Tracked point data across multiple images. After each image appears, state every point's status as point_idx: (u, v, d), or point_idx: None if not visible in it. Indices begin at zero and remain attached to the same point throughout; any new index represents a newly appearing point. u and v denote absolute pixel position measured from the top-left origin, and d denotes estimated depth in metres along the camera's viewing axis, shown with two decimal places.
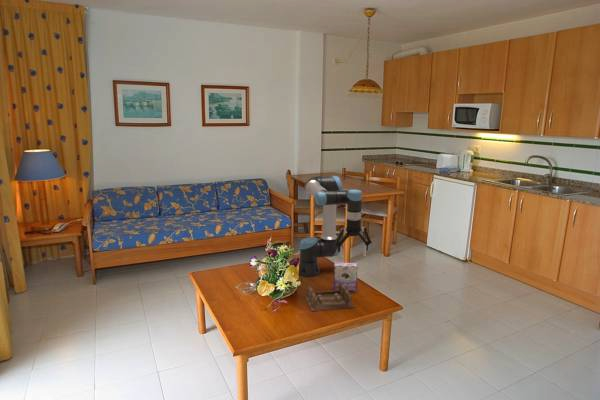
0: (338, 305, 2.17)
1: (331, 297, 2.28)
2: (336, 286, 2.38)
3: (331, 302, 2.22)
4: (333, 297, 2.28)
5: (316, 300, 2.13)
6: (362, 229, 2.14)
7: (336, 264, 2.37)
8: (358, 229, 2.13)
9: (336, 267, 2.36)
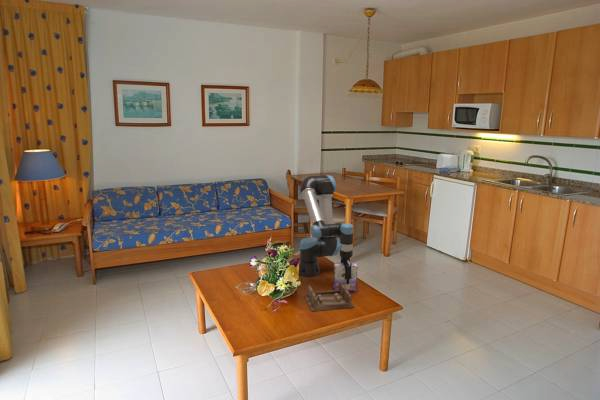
0: (338, 305, 2.17)
1: (331, 297, 2.28)
2: (336, 286, 2.38)
3: (331, 302, 2.22)
4: (333, 297, 2.28)
5: (316, 300, 2.13)
6: None
7: (336, 264, 2.37)
8: (345, 260, 2.34)
9: (336, 267, 2.36)
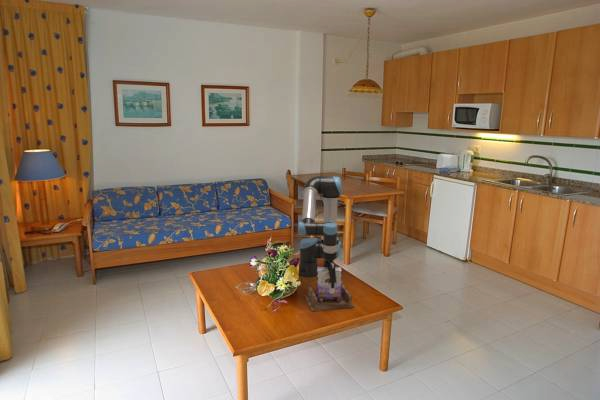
0: (338, 305, 2.17)
1: None
2: (319, 292, 2.21)
3: (331, 302, 2.22)
4: None
5: (316, 300, 2.13)
6: None
7: (319, 269, 2.20)
8: (328, 262, 2.17)
9: (319, 272, 2.19)
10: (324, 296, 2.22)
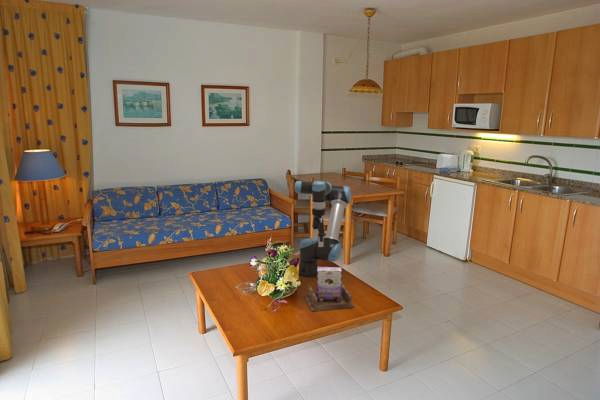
0: (338, 305, 2.17)
1: None
2: (319, 292, 2.21)
3: (331, 302, 2.22)
4: None
5: (316, 300, 2.13)
6: None
7: (319, 269, 2.20)
8: (317, 218, 2.31)
9: (319, 272, 2.19)
10: (324, 296, 2.22)
